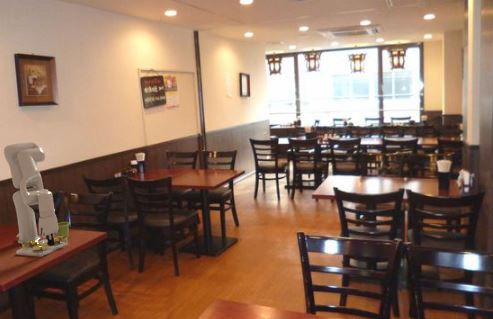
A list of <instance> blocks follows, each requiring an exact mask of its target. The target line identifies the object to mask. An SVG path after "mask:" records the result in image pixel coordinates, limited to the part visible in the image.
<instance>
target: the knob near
mask: <svg viewBox="0 0 493 319" xmlns="http://www.w3.org/2000/svg"><path fill="white" fill-rule="evenodd" d="M38 242H39V240H29V241H27V242H23V243H22V244H21V246H22V248H23V249H25V248H28V247H30V246H33V245H37V244H38Z"/></svg>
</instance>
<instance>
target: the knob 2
mask: <svg viewBox="0 0 493 319" xmlns="http://www.w3.org/2000/svg"><path fill="white" fill-rule="evenodd" d="M56 242H69V239H68V237H67V236H58V237H57V236H55V238H54V243H56Z"/></svg>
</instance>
